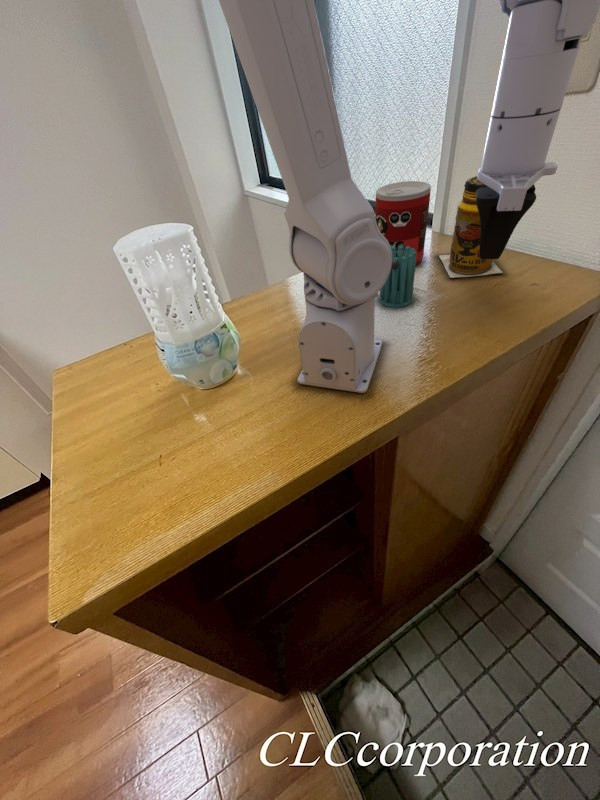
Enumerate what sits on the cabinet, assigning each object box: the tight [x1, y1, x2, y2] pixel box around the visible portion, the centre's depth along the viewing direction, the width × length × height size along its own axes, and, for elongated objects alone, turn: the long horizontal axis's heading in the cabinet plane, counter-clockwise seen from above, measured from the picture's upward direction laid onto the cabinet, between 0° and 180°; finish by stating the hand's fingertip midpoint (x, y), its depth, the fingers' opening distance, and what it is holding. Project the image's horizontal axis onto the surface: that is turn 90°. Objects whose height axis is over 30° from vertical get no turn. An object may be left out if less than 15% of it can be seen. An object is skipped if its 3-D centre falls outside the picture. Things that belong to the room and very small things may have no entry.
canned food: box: [374, 180, 432, 266], centre depth 55 cm, size 8×8×11 cm
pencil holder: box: [379, 244, 417, 308], centre depth 47 cm, size 7×6×5 cm
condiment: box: [438, 175, 503, 279], centre depth 50 cm, size 7×8×12 cm
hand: (489, 256), depth 41 cm, fingers closed
